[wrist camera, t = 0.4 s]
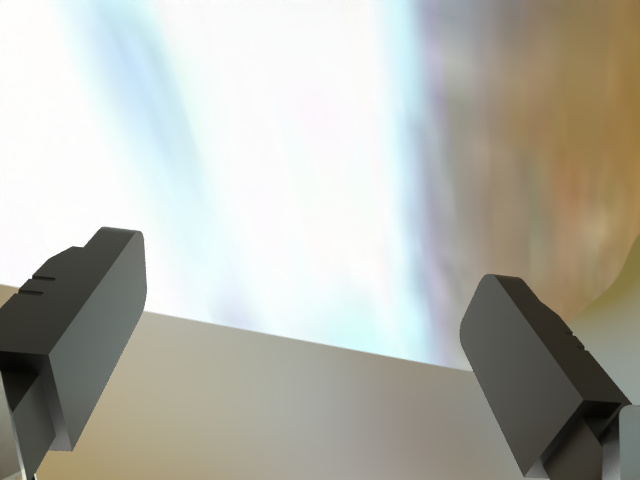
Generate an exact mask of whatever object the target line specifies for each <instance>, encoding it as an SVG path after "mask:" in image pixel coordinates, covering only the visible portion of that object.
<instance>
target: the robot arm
mask: <svg viewBox="0 0 640 480" xmlns="http://www.w3.org/2000/svg"><path fill="white" fill-rule="evenodd" d="M146 294H147V283H146V266H145V250H144V238H143V234H142V232H141V231H136V230H128V229H119V228H111V227H102V228H100V229H99V230H98V231H97V233H96V234H95V235H94V236H93V237H92V238H91V239H90V241H89V242H88V243H87V244H86V245H85V246H84V247H74V246H72V247H70V248H69V249H67V250H65V251H63V252H61V253H59V254H57V255H55V256H53V257H51V258H49V259H48V260H47V261H46V262H45V263H44V264H43V265H42V266H41V267H40V268H39V269H38V270H37V271H36V272H35V273H34V274H33V275H32V279H28V280H27V281H26V283H25V284H24V285H23V286H22V287H21V288H20V289H19V292H18V294H16V293H15V294H14V295H13V296H12V297H11V298H10V299H9V300H8V301H7V302H6V303H5V304H4V305H3V306H2V307H1V308H0V480H37V477H36V474H35V473H36V471H37V469H38V467H39V465H40V463H41V462H42V460H43V458H44V456H45V455H46V453H47V451H48V450H54V451H73V449H74V447H75V445H76V443H77V441H78V439H79V437H80V435H81V433H82V431H83V429H84V427H85V425H86V423H87V421H88V419H89V417H90V415H91V413H92V411H93V409H94V407H95V405H96V403H97V401H98V399H99V397H100V395H101V394H102V392H103V389H104V388H105V386H106V383H107V382H108V380H109V378H110V376H111V374H112V372H113V370H114V368H115V366H116V364H117V362H118V360H119V358H120V356H121V354H122V351H123V350H124V348H125V346H126V344H127V342H128V340H129V338H130V336H131V334H132V332H133V330H134V328H135V326H136V324H137V322H138V320H139V318H140V316H141V314H142V312H143V309H144V305H145V301H146ZM572 333H573V332H572V331H571V330H570V329H569V327H568V326H567V325H566V324H565V323H564V321H563V320H562V319H561V318H560V317H559V315H557V314H556V313H555V312H553V311H552V310H551V309H550V308H548V307H547V306H546V305H544V304H543V303H542V302H541V301H540V300H539V299H538V298H537V297H536V295H535V294H534V293H533V292H532V290H531V289H530V288H529V287H528V286H527V284H526V283H525V282H524V281H523V280H522V279H521V278H518V277H511V276H503V275H494V274H487V275H485V276H484V277H483V278H482V279H481V281H480V283H479V285H478V287H477V289H476V291H475V294H474V296H473V298H472V300H471V302H470V304H469V306H468V309H467V311H466V313H465V315H464V317H463V319H462V322H461V326H460V341H461V345H462V348H463V350H464V352H465V354H466V356H467V358H468V360H469V362H470V365H471V367H472V369H473V371H474V373H475V375H476V377H477V379H478V381H479V384H480V386H481V388H482V390H483V392H484V394H485V396H486V398H487V400H488V403H489V405H490V407H491V409H492V411H493V413H494V415H495V417H496V419H497V421H498V423H499V426H500V428H501V430H502V432H503V434H504V436H505V438H506V441H507V443H508V445H509V447H510V449H511V451H512V453H513V455H514V457H515V460H516V462H517V464H518V466H519V468H520V470H521V472H522V474H523V476H524V477H530V478H549V479H550V480H640V405H632V403H631V402H630V401H629V400H628V398H627V397H626V396H625V395H624V394H623V392H622V391H621V390H620V389H619V388H618V387H617V385H616V384H615V383H614V382H613V381H612V379H611V378H610V377H609V376H608V374H607V373H606V372H605V371H604V370H603V368H602V367H601V366H600V365H599V364H598V362H597V361H596V360H595V359H594V357H593V356H592V355H591V354H590V353H589V351H585V350H584V345H583V344H582V343H581V342H580V341H579V339H578V338H577V337H576V336H573V335H572Z"/></svg>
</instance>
